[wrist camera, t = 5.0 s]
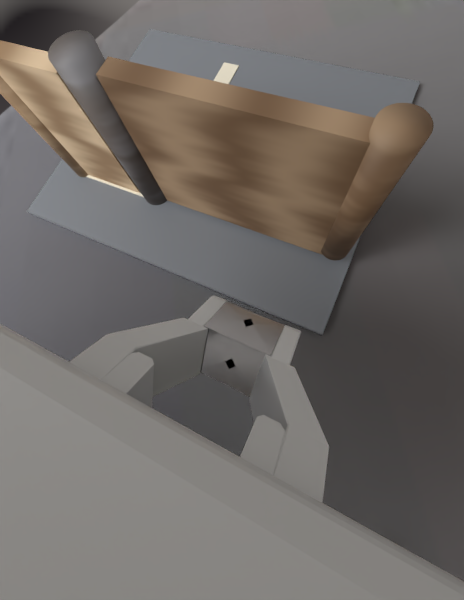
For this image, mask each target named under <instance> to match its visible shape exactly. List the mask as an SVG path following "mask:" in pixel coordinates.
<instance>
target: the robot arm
mask: <svg viewBox="0 0 464 600" xmlns="http://www.w3.org/2000/svg"><path fill="white" fill-rule="evenodd" d="M284 326H285V327H284ZM300 334H301V331H300V330H298V329H295V328H293V327H290V326H287V325H283V324H281V323H279V322H276V321H274V320H271V319H269V318H266V317H264V316H261V315H259V314H256V313H255V312H252V311H250V310H248V309H245V308H243V307H241V306H239V305H236V304H234V303H232V302H230V301H227V300H225V299H222V298H220V297H218V296H215V295H214V296H211V297H210V298H209V299H208V300H207V301H206V302H205V303H204V304H203V305H202V306H201V307H200V308H199V309H198V310H197V311H196V312H195V313H194V314H193V315H192V316H191V317H190V318H189V319H186V318H179V319H175V320H170V321H166V322H161V323H156V324H152V325H147V326H142V327H138V328H133V329H128V330H124V331H119V332H115V333H110V334H107V335H105V336H104V337H102V338H101V339H100V340H98V341H97V342H96V343H94V344H93V345H91V346H90V347H89V348H87V349H86V350H85V351H83V352H82V353H81V354H79V355H78V356H76V357H75V358H74V359H72V360H71V361H70V362H68V361H66V360H65V359H63V358H61V357H59V356H57V355H56V354H54V353H52V352H50V351H48V350H47V349H45V348H43V347H41V346H39V345H38V344H36V343H34V342H32V341H30V340H29V339H27V338H25V337H23V336H22V335H20V334H18V333H16V332H14V331H13V330H11V329H9V328H7V327H5V326H4V325H2V324H0V600H464V581H462V580H460V579H459V578H457V577H455V576H453V575H451V574H450V573H448V572H446V571H444V570H442V569H441V568H439V567H437V566H435V565H433V564H432V563H430V562H428V561H426V560H424V559H423V558H421V557H419V556H417V555H415V554H414V553H412V552H410V551H408V550H406V549H405V548H403V547H401V546H399V545H397V544H396V543H394V542H392V541H390V540H388V539H387V538H385V537H383V536H381V535H379V534H378V533H376V532H374V531H372V530H370V529H369V528H367V527H365V526H363V525H361V524H360V523H358V522H356V521H354V520H352V519H351V518H349V517H347V516H345V515H344V514H342V513H340V512H338V511H336V510H335V509H333V508H331V507H329V506H327V505H326V504H324V503H322V502H323V494H324V486H325V477H326V469H327V460H328V452H329V445H328V443H327V440H326V438H325V436H324V434H323V431H322V429H321V427H320V424H319V422H318V420H317V417H316V415H315V413H314V410H313V408H312V406H311V404H310V401H309V399H308V397H307V394H306V392H305V390H304V387H303V385H302V383H301V380H300V378H299V376H298V374H297V371H296V369H295V367H293V366H291V365H290V364H291V361H292V358H293V355H294V352H295V349H296V346H297V343H298V340H299V337H300ZM200 373H202V374H204V375H206V376H209V377H211V378H213V379H215V380H217V381H219V382H222V383H224V384H226V385H228V386H230V387H231V388H233V389H235V390H237V391H239V392H241V393H243V394H245V395H247V396H249V397H250V398H249V400H250V407H251V413H252V420H253V427H252V429H251V432H250V434H249V436H248V439H247V441H246V443H245V446H244V448H243V450H242V453H241V455H240V457H239V456H237V455H235V454H234V453H232V452H230V451H228V450H226V449H225V448H223V447H221V446H219V445H217V444H216V443H214V442H212V441H210V440H208V439H206V438H205V437H203V436H201V435H199V434H197V433H196V432H194V431H192V430H190V429H188V428H187V427H185V426H183V425H181V424H180V423H178V422H176V421H174V420H172V419H171V418H169V417H167V416H165V415H163V414H162V413H160V412H158V411H156V410H154V409H153V408H152V399H153V396H155V395H157V394H159V393H161V392H164V391H166V390H168V389H170V388H172V387H174V386H176V385H178V384H180V383H182V382H184V381H186V380H189V379H191V378H193V377H195V376H197V375H199V374H200Z"/></svg>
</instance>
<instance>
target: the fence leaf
mask: <svg viewBox="0 0 464 600" xmlns="http://www.w3.org/2000/svg"><path fill="white" fill-rule="evenodd" d="M96 76H97V78H98V79H99V81H100V83H101V85H102V86H103V88H104V90H105V92H106V93H107V95H108V97H109V99H110V100H111V102H112V104H113V106H114V108H115V109H116V111H117V113H118V115H119V116H120V118H121V120H122V122H123V123H124V125H125V127H126V129H127V130H128V132H129V134H130V136H131V137H132V139H133V141H134V143H135V144H136V146H137V148H138V150H139V152H140V153H141V155H142V157H143V159H144V160H145V162H146V164H147V166H148V167H149V169H150V171H151V173H152V174H153V176H154V178H155V180H156V181H157V183H158V185H159V187H160V188H161V190H162V192H163V194H164V196H165V197H166V199H167V201H170V202H173V203H176V204H179V205H182V206H184V207H187V208H190V209H193V210H196V211H199V212H202V213H204V214H207V215H210V216H213V217H216V218H219V219H222V220H224V221H227V222H230V223H233V224H236V225H239V226H242V227H244V228H247V229H250V230H253V231H256V232H259V233H262V234H264V235H267V236H270V237H273V238H276V239H279V240H282V241H284V242H287V243H290V244H293V245H296V246H299V247H301V248H304V249H307V250H310V251H313V252H316V253H319V254H321V255H324V256H325V257H326V258H328V259H330V260H341V259H343V258H344V257H346V256H347V254H348V253H349V251H350V250H351V249H352V247H353V246H354V244H355V243H356V241H357V240H358V238H359V237H360V236H361V234H362V233H363V231H364V230H365V228H366V227H367V225H368V224H369V223H370V221H371V220H372V218H373V217H374V215H375V214H376V213H377V211H378V210H379V208H380V207H381V205H382V204H383V202H384V201H385V200H386V198H387V197H388V195H389V194H390V192H391V191H392V190H393V188H394V187H395V185H396V184H397V182H398V181H399V179H400V178H401V177H402V175H403V174H404V172H405V171H406V169H407V168H408V167H409V165H410V164H411V162H412V161H413V159H414V158H415V156H416V155H417V154H418V152H419V151H420V149H421V148H422V146H423V145H424V143H425V142H426V141H427V139H428V138H429V136H430V135H431V133H432V131H433V120H432V118H431V116H430V114H429V113H428V112H427V111H426V110H424V109H423V108H421V107H419V106H417V105H415V104H411V103H395V104H391V105H389V106H386V107H385V108H383V109H382V110H380V111H379V113H378V114H377V115H376V117H375V118H373V117H369V116H365V115H360V114H356V113H352V112H347V111H343V110H339V109H334V108H330V107H326V106H321V105H317V104H312V103H308V102H304V101H299V100H295V99H291V98H286V97H282V96H278V95H273V94H269V93H265V92H260V91H256V90H251V89H247V88H243V87H238V86H234V85H230V84H225V83H221V82H217V81H212V80H208V79H204V78H199V77H195V76H190V75H186V74H182V73H177V72H173V71H169V70H164V69H160V68H156V67H151V66H147V65H143V64H138V63H134V62H129V61H125V60H121V59H116V58H112V57H107V59H106V60H105V62H104V63H103V65H102V66H101V67H100V69H99V70H98V72H97V73H96Z"/></svg>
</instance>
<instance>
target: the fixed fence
mask: <svg viewBox="0 0 464 600" xmlns="http://www.w3.org/2000/svg"><path fill="white" fill-rule="evenodd" d="M104 62H105V59H104V57H103V55H102V53H101V51H100V49H99V47H98V45H97V43H96V41H95V39H94V38H93V36H92V35H91V34H90V33H89V32H86V31H82V30H77V31H71V32H68V33H66V34H64V35H62V36H60V37H59V38H58V39H56V40H55V41H54V42H53V44H52V45H51V47H50V49H49V52H46V51H42V50H38V49H33V48H29V47H25V46H21V45H17V44H13V43H8V42H4V41H0V94H1V95H2V96H3V97H4V98H5V99H6V100H7V101H8V102H9V103H10V104H11V105H12V106H13V107H14V109H15V110H16V111H17V112H18V113H19V114H20V115H21V116H22V117H23V118H24V119H25V120H26V121H27V122H28V123H29V124H30V125H31V126H32V127H33V129H34V130H35V131H36V132H37V133H38V134H39V135H40V136H41V137H42V138H43V139H44V140H45V141H46V142H47V143H48V144H49V145H50V146H51V147H52V149H53V150H54V151H55V152H56V153H57V154H58V155H59V156H60V157H61V158H62V159H63V160H64V161H65V162H66V163H67V164H68V165H69V166H70V168H71V169H72V170H73V171H74V172H75V173H76V174H77V175H78V176H80V177H86V176H88V175H90V176H93V177H96V178H98V179H101V180H104V181H107V182H110V183H113V184H115V185H118V186H121V187H124V188H127V189H130V190H133V191H135V192H138V193H140V192H141V194H142V195H143V197H144V198H145V199H146V201H147V202H148V203H149V204H151V205H161V204H163V203H165V202H166V201H167V199H166V197H165V196H164V194H163V192H162V190H161V188H160V187H159V185H158V183H157V181H156V180H155V178H154V176H153V174H152V173H151V171H150V169H149V167H148V166H147V164H146V162H145V160H144V159H143V157H142V155H141V153H140V152H139V150H138V148H137V146H136V144H135V143H134V141H133V139H132V137H131V136H130V134H129V132H128V130H127V129H126V127H125V125H124V123H123V122H122V120H121V118H120V116H119V115H118V113H117V111H116V109H115V108H114V106H113V104H112V102H111V100H110V99H109V97H108V95H107V93H106V92H105V90H104V88H103V86H102V85H101V83H100V81H99V79H98V78H97V76H96V73H97V72H98V70H99V69H100V67H101V66H102V65H103V63H104Z"/></svg>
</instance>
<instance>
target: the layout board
mask: <svg viewBox="0 0 464 600" xmlns="http://www.w3.org/2000/svg"><path fill="white" fill-rule="evenodd" d="M129 62H134V63H138V64H143V65H147V66H151V67H156V68H160V69H164V70H169V71H173V72H177V73H182V74H186V75H190V76H195V77H199V78H204V79H208V80H212V81H217V82H221V83H225V84H230V85H234V86H238V87H243V88H247V89H251V90H256V91H260V92H265V93H269V94H273V95H278V96H282V97H286V98H291V99H295V100H299V101H304V102H308V103H312V104H317V105H321V106H326V107H330V108H334V109H339V110H343V111H347V112H352V113H356V114H360V115H365V116H369V117H373V118H375V117H376V115H377V114H378V113H379V111H380V110H382V109H383V108H385V107H386V106H389V105H391V104H395V103H411V104H412V102H413V99H414V96H415V94H416V91H417V89H418V86H419V83H420V81H415V80H410V79H405V78H400V77H395V76H389V75H384V74H379V73H374V72H369V71H364V70H359V69H353V68H348V67H343V66H338V65H333V64H328V63H323V62H317V61H312V60H307V59H302V58H297V57H292V56H287V55H281V54H276V53H271V52H266V51H261V50H256V49H251V48H245V47H240V46H235V45H230V44H225V43H220V42H215V41H209V40H204V39H199V38H194V37H189V36H184V35H179V34H173V33H168V32H163V31H158V30H153V29H150V30H149V31H148V33H147V34H146V36H145V37H144V39H143V40H142V42H141V43H140V45H139V46H138V48H137V49H136V50H135V52H134V53H133V55H132V56H131V58H130V59H129ZM27 212H28V213H30V214H31V215H34V216H36V217H38V218H41V219H43V220H46V221H48V222H50V223H53V224H55V225H58V226H60V227H62V228H65V229H67V230H70V231H72V232H74V233H77V234H79V235H82V236H84V237H86V238H89V239H91V240H94V241H96V242H98V243H101V244H103V245H106V246H108V247H110V248H113V249H115V250H118V251H120V252H122V253H125V254H127V255H130V256H132V257H135V258H137V259H139V260H142V261H144V262H147V263H149V264H151V265H154V266H156V267H159V268H161V269H163V270H166V271H168V272H171V273H173V274H175V275H178V276H180V277H183V278H185V279H187V280H190V281H192V282H195V283H197V284H199V285H202V286H204V287H207V288H209V289H211V290H214V291H216V292H219V293H221V294H223V295H226V296H228V297H231V298H233V299H235V300H238V301H240V302H243V303H245V304H248V305H250V306H252V307H255V308H257V309H260V310H262V311H264V312H267V313H269V314H272V315H274V316H276V317H279V318H281V319H284V320H286V321H288V322H291V323H293V324H296V325H298V326H300V327H303V328H305V329H308V330H310V331H312V332H315V333H317V334H320V335H322V334H323V332H324V330H325V327H326V324H327V322H328V319H329V317H330V314H331V311H332V309H333V306H334V304H335V301H336V299H337V296H338V293H339V291H340V288H341V286H342V283H343V280H344V278H345V275H346V273H347V270H348V267H349V265H350V262H351V260H352V257H353V254H354V252H355V249H356V247H357V244H358V242H359V239H360V237H359V238H358V240H357V241H356V243H355V244H354V246H353V247H352V249H351V250H350V251H349V253H348V254H347V256H346V257H344V258H343V259H341V260H330V259H328V258H326V257H325V256H324V255H321V254H319V253H316V252H313V251H310V250H307V249H304V248H301V247H299V246H296V245H293V244H290V243H287V242H284V241H282V240H279V239H276V238H273V237H270V236H267V235H264V234H262V233H259V232H256V231H253V230H250V229H247V228H244V227H242V226H239V225H236V224H233V223H230V222H227V221H224V220H222V219H219V218H216V217H213V216H210V215H207V214H204V213H202V212H199V211H196V210H193V209H190V208H187V207H184V206H182V205H179V204H176V203H173V202H170V201H166V202H165V203H163V204H161V205H151V204H149V203H148V202H147V201H146V199H145V198H144V197H143V195H142V194H141V192H140V193H138V192H135V191H133V190H130V189H127V188H124V187H121V186H118V185H115V184H113V183H110V182H107V181H104V180H101V179H98V178H96V177H93V176H90V175H88V176H86V177H80V176H78V175H77V174H76V173H75V172H74V171H73V170H72V169H71V168H70V166H69V165H68V164H67V163H66V162H65V161H64V160H63V159H62V160H61V161H60V163H59V164H58V166H57V167H56V169H55V170H54V172H53V173H52V175H51V176H50V178H49V179H48V181H47V182H46V183H45V185H44V186H43V188H42V189H41V191H40V192H39V194H38V195H37V197H36V198H35V200H34V201H33V203H32V204H31V206H30V207H29V209H28V210H27Z"/></svg>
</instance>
